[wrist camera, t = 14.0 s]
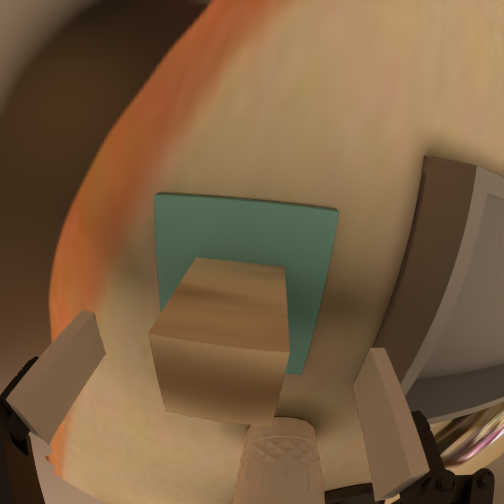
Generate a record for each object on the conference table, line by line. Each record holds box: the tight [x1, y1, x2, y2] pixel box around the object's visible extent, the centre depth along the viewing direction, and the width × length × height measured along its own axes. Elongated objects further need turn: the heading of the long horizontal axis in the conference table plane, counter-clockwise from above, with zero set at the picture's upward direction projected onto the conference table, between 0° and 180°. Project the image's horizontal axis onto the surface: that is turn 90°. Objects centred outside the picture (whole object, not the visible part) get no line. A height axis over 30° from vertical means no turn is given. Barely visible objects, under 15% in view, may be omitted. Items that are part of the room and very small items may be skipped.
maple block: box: [149, 257, 290, 427], centre depth 13 cm, size 5×5×7 cm
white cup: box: [232, 417, 325, 504], centre depth 18 cm, size 8×8×10 cm
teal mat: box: [155, 193, 339, 375], centre depth 17 cm, size 12×10×1 cm
